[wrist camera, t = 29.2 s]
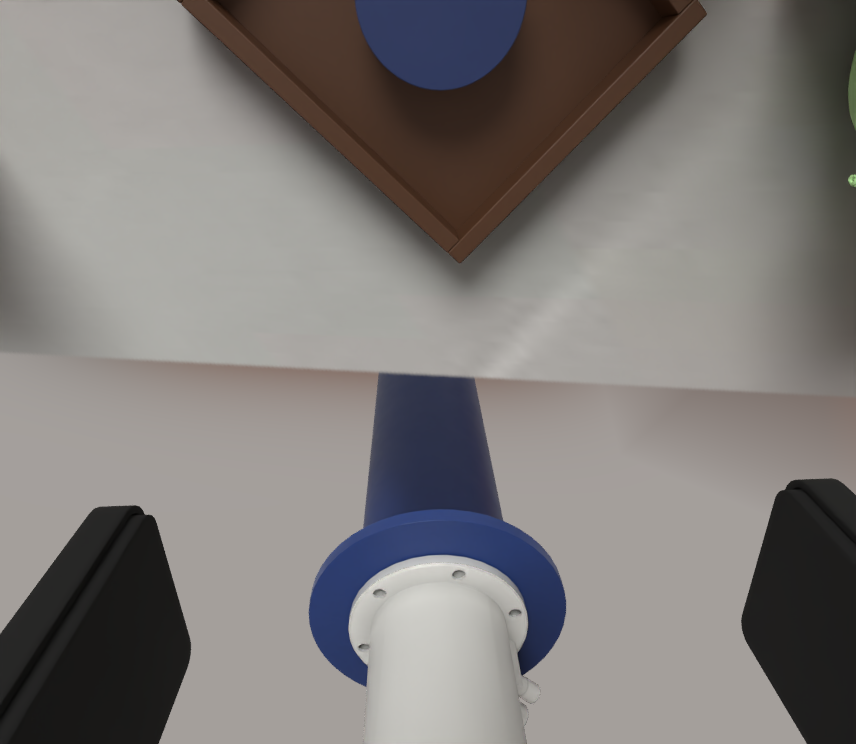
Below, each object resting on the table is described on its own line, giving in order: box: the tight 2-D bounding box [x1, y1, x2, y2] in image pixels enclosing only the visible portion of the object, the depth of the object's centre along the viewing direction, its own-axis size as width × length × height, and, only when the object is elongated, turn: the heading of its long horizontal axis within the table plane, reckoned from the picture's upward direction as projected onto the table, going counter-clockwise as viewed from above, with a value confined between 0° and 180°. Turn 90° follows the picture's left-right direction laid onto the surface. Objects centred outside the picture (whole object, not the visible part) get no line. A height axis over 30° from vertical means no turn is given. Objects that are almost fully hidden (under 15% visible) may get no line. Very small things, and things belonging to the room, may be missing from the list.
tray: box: [177, 0, 707, 263], centre depth 24 cm, size 16×14×2 cm
